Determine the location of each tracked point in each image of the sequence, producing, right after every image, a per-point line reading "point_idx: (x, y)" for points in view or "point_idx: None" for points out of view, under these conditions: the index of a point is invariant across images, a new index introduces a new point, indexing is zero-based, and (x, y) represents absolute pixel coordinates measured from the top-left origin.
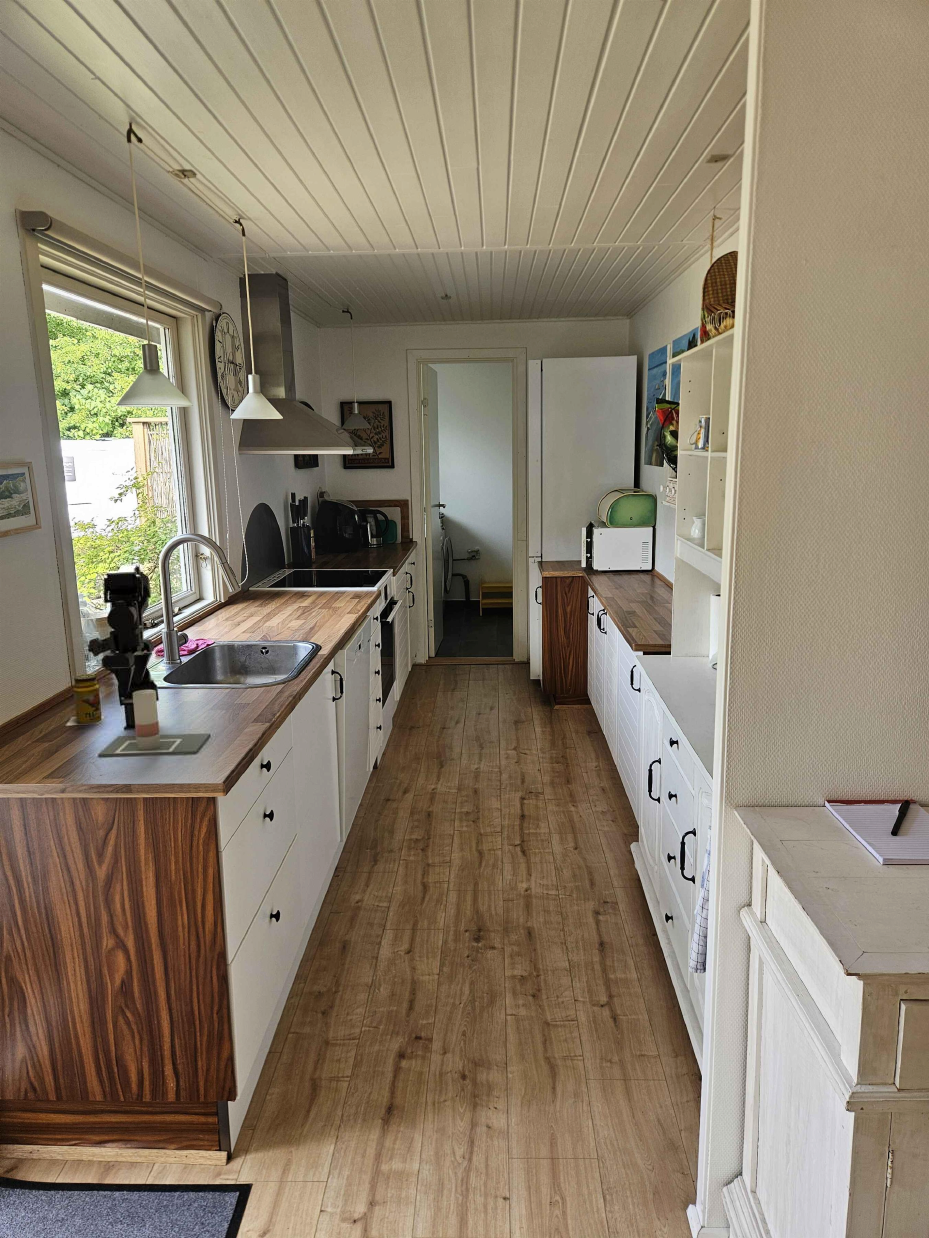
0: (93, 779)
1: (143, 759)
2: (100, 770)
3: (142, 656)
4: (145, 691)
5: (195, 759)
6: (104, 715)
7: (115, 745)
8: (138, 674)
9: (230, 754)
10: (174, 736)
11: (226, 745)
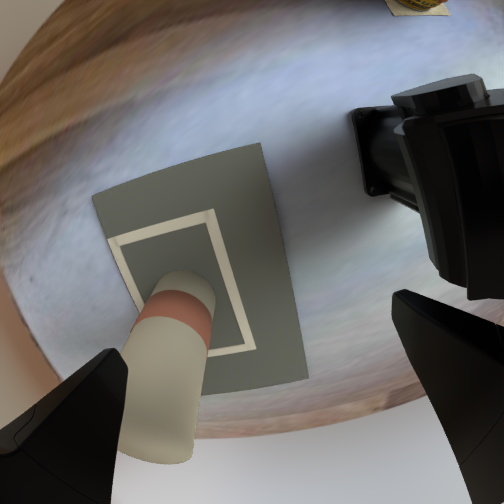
0: (17, 277)
1: (119, 317)
2: (42, 262)
3: (497, 493)
4: (155, 443)
5: None
6: (446, 13)
7: (166, 195)
8: (426, 359)
9: (203, 429)
10: (279, 320)
11: (247, 415)
